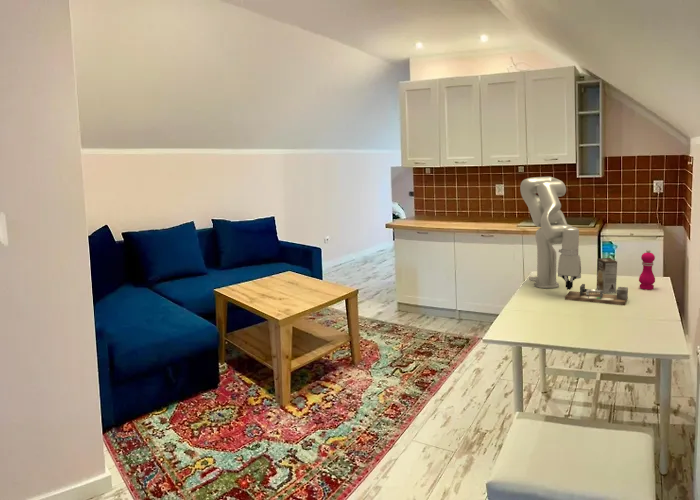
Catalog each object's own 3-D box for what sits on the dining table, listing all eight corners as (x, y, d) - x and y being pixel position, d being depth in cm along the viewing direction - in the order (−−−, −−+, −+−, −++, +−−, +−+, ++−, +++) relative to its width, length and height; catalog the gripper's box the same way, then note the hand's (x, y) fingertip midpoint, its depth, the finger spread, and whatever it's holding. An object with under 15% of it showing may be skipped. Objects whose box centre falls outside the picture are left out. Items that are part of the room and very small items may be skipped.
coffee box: (595, 289, 279) (596, 258, 276) (608, 288, 279) (609, 257, 276) (603, 293, 270) (604, 261, 267) (616, 293, 270) (617, 261, 267)
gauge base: (565, 299, 264) (565, 287, 263) (569, 293, 273) (569, 282, 272) (624, 305, 250) (625, 292, 249) (627, 299, 259) (628, 287, 258)
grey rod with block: (579, 295, 262) (579, 287, 261) (582, 291, 268) (582, 283, 268) (600, 297, 257) (600, 289, 256) (602, 293, 263) (602, 285, 263)
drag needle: (599, 298, 255) (599, 291, 255) (600, 296, 258) (600, 290, 257) (601, 298, 255) (601, 292, 254) (602, 296, 257) (602, 290, 257)
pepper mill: (654, 287, 277) (656, 248, 273) (655, 290, 271) (657, 251, 267) (638, 286, 280) (639, 247, 276) (638, 289, 274) (640, 250, 270)
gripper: (552, 253, 266) (551, 289, 270) (585, 255, 258) (583, 292, 262) (555, 250, 272) (554, 285, 276) (587, 252, 264) (586, 288, 268)
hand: (569, 288), depth 269 cm, fingers closed
